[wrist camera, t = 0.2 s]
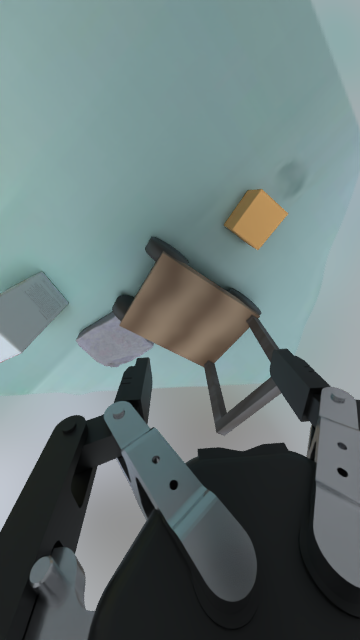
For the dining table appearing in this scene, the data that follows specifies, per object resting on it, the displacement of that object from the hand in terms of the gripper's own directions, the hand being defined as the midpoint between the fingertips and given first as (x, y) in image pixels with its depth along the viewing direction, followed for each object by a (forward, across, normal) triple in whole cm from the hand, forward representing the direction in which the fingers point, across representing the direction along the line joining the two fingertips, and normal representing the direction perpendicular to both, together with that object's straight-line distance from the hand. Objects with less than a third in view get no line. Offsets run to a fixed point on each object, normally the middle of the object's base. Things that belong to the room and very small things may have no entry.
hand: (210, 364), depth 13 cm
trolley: (+22, 0, +3) cm, 23 cm away
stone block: (+24, +13, +10) cm, 29 cm away
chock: (+21, -9, -9) cm, 24 cm away
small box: (+23, +25, +1) cm, 34 cm away
